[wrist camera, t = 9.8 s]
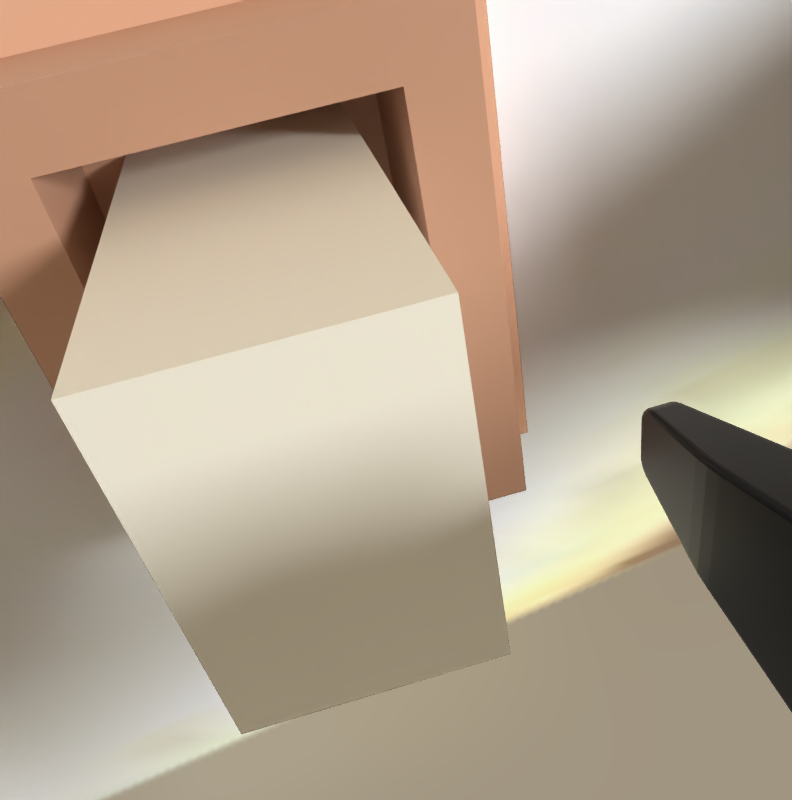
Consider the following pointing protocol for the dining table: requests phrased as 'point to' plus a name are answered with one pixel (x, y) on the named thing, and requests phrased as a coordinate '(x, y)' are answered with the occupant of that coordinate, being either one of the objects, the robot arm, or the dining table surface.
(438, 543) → the plug
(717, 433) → the robot arm
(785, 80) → the dining table surface
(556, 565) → the dining table surface
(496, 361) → the dock
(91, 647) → the dining table surface
